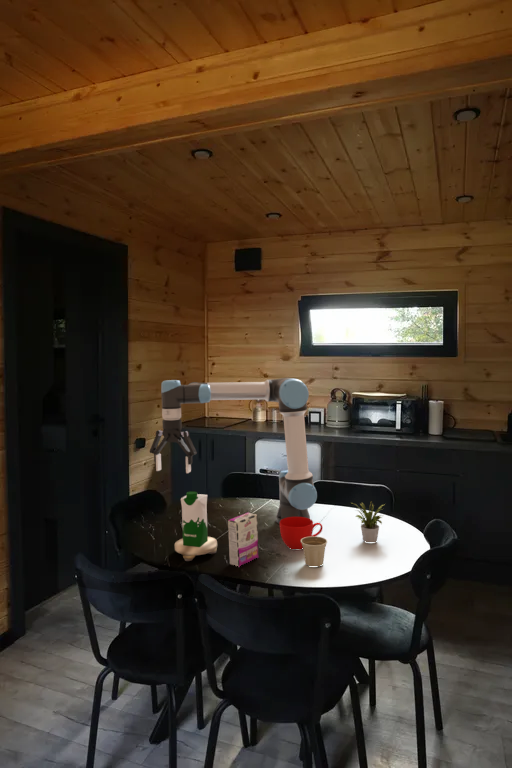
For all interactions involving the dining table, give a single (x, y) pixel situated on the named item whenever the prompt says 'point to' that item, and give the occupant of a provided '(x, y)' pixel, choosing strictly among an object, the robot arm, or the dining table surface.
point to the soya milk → (194, 519)
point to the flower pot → (314, 550)
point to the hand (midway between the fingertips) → (173, 471)
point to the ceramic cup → (297, 530)
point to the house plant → (369, 523)
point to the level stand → (196, 548)
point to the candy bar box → (243, 539)
